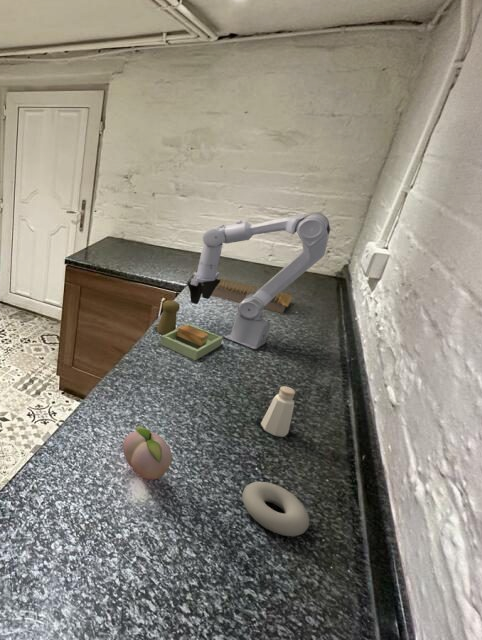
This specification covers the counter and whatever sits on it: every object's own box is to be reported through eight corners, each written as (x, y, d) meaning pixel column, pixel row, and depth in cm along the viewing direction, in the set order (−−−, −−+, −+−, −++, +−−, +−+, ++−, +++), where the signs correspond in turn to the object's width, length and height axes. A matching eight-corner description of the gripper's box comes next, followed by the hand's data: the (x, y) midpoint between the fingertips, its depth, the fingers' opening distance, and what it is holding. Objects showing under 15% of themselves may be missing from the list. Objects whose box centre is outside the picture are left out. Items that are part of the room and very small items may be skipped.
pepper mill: (177, 336, 132) (183, 306, 128) (158, 334, 133) (164, 304, 129) (173, 328, 138) (179, 299, 134) (155, 326, 139) (160, 297, 135)
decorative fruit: (176, 487, 76) (187, 446, 72) (139, 497, 73) (148, 455, 70) (146, 451, 84) (154, 413, 80) (112, 459, 82) (119, 420, 78)
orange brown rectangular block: (205, 346, 125) (208, 334, 123) (199, 350, 123) (202, 337, 121) (181, 336, 131) (184, 324, 129) (175, 339, 129) (178, 327, 127)
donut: (277, 489, 76) (228, 491, 75) (282, 476, 75) (233, 478, 74) (320, 539, 67) (265, 542, 66) (327, 525, 65) (271, 528, 64)
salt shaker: (288, 440, 88) (304, 400, 84) (260, 431, 91) (273, 391, 86) (287, 426, 92) (302, 387, 88) (260, 417, 95) (273, 379, 91)
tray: (220, 345, 127) (222, 337, 126) (195, 360, 118) (197, 351, 117) (186, 331, 136) (188, 323, 134) (160, 344, 127) (162, 335, 126)
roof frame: (290, 303, 160) (295, 289, 158) (285, 314, 150) (290, 300, 148) (199, 281, 182) (202, 269, 179) (189, 290, 172) (192, 276, 169)
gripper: (207, 256, 139) (199, 292, 144) (185, 263, 131) (177, 301, 136) (228, 262, 134) (219, 298, 139) (206, 269, 126) (197, 308, 131)
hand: (199, 300), depth 137 cm, fingers open, 7 cm apart
